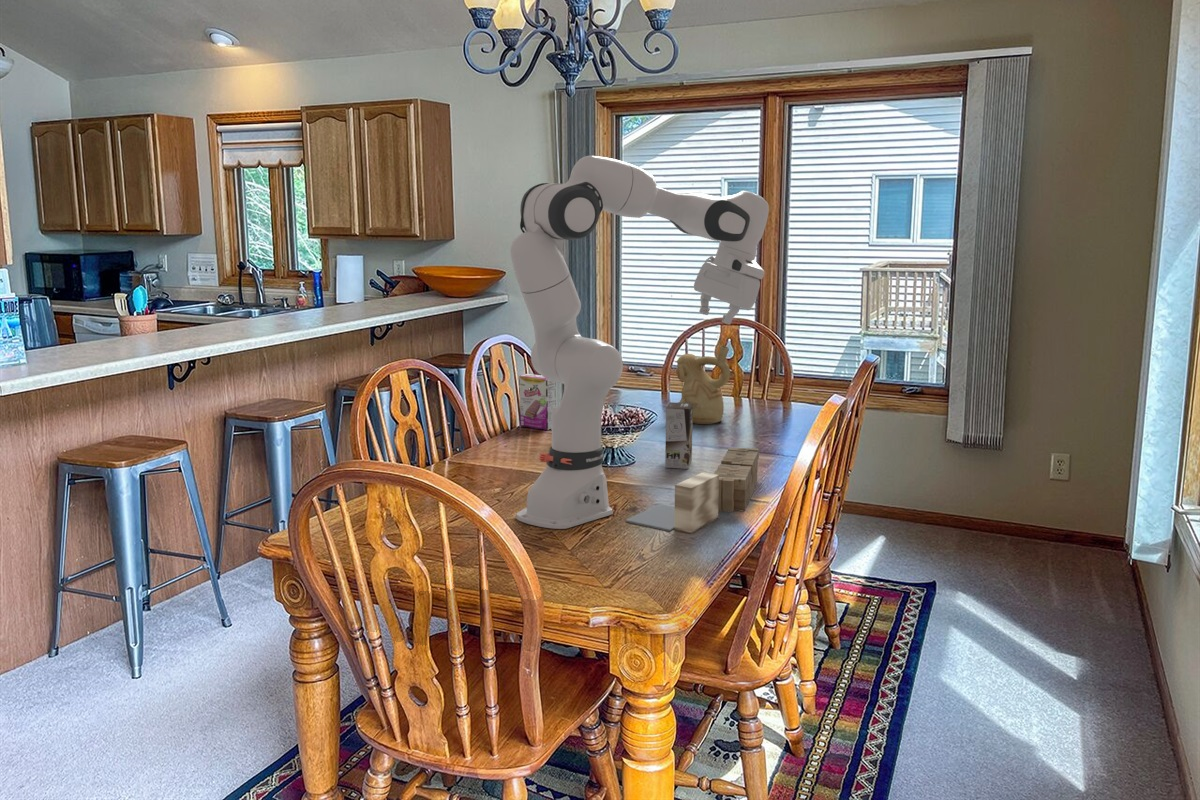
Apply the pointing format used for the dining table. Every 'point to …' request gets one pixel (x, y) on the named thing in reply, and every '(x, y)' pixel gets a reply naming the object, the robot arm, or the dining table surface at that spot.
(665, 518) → the mat
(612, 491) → the dining table surface
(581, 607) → the dining table surface
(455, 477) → the dining table surface
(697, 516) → the maple block
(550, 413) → the candy bar box
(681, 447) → the coffee box
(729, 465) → the block tower
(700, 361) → the ceramic vessel
